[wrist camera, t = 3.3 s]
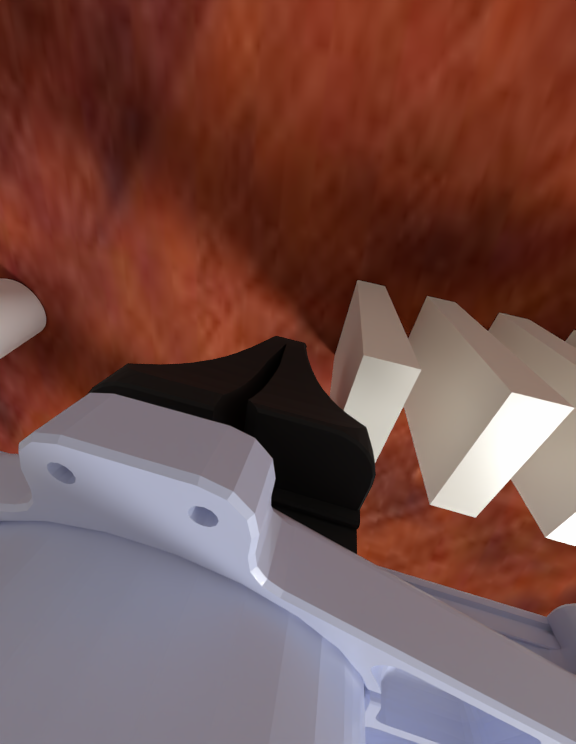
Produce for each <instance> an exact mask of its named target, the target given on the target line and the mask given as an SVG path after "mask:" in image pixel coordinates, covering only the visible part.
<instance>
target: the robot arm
mask: <svg viewBox="0 0 576 744" xmlns="http://www.w3.org/2000/svg"><path fill="white" fill-rule="evenodd" d="M306 347H307V346H306V344H305V343H303V342H299V341H295V340H291V339H287V338H283V337H279V336H274V337H272V338H270V339H268V340H266V341H264V342H262V343H260V344H258V345H255V346H253V347H251V348H248V349H246V350H243V351H241V352H238V353H235V354H232V355H229V356H225V357H221V358H217V359H213V360H207V361H200V362H194V363H183V364H161V365H158V364H129V363H128V364H127V365H125V366H124V367H122V368H121V369H119V370H118V371H116V372H115V373H113V374H112V375H110V376H109V377H107V378H106V379H105V380H103V381H102V382H100V383H99V384H97V385H96V386H94V387H93V388H92V389H91V390H90V392H89V393H88V394H87V395H86V396H85V397H83V398H82V399H80V400H79V401H78V402H76V403H75V404H73V405H72V406H70V407H69V408H67V409H66V410H65V411H63V412H62V413H60V414H59V415H57V416H56V417H54V418H53V419H52V420H50V421H49V422H47V423H46V424H44V425H43V426H42V427H40V428H39V429H37V430H36V431H34V432H33V433H32V434H30V435H29V436H28V437H26V438H25V439H24V440H22V441H21V442H20V443H19V454H9V453H6V452H2V451H0V744H576V604H565V605H562V606H559V607H557V608H556V609H554V610H553V611H552V612H551V613H550V614H549V615H548V616H547V617H545V616H541V615H538V614H535V613H532V612H528V611H525V610H522V609H518V608H515V607H512V606H509V605H505V604H502V603H499V602H495V601H492V600H489V599H486V598H482V597H479V596H476V595H472V594H469V593H466V592H463V591H459V590H456V589H453V588H449V587H446V586H443V585H440V584H436V583H433V582H430V581H426V580H423V579H420V578H417V577H413V576H410V575H407V574H403V573H400V572H397V571H394V570H390V569H387V568H384V567H380V566H377V565H375V564H373V563H371V562H370V561H368V560H366V559H364V558H362V557H360V556H359V555H357V529H358V528H359V525H360V508H361V506H362V504H363V502H364V500H365V498H366V496H367V495H368V493H369V491H370V489H371V487H372V485H373V481H374V478H375V475H376V474H375V459H374V453H373V449H372V445H371V441H370V438H369V434H368V431H367V428H366V426H364V425H363V424H361V423H360V422H358V421H357V420H356V419H354V418H353V417H351V416H350V415H348V414H347V413H346V412H345V411H343V410H342V409H341V408H340V407H339V406H338V405H337V404H336V403H335V402H334V401H333V400H332V399H331V398H330V397H329V396H328V395H327V394H326V393H325V391H324V390H323V389H322V387H321V386H320V384H319V383H318V381H317V379H316V377H315V375H314V373H313V371H312V368H311V366H310V363H309V360H308V356H307V351H306Z"/></svg>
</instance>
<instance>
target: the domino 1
mask: <svg viewBox="0 0 576 744" xmlns="http://www.w3.org/2000/svg"><path fill="white" fill-rule="evenodd" d="M420 372H421V367H420V365H419V363H418V360H417V358H416V356H415V354H414V351H413V349H412V347H411V344H410V342H409V340H408V338H407V335H406V333H405V331H404V328H403V326H402V324H401V322H400V319H399V317H398V315H397V312H396V310H395V308H394V306H393V303H392V301H391V299H390V296H389V294H388V292H387V290H386V287H385V286H382V285H378V284H373V283H369V282H365V281H360V280H357V283H356V287H355V290H354V293H353V297H352V300H351V303H350V306H349V310H348V313H347V316H346V320H345V323H344V326H343V330H342V333H341V336H340V339H339V343H338V346H337V349H336V353H335V357H334V366H333V374H332V383H331V391H330V398H331V399H332V400H333V401H334V402H335V403H336V404H337V405H338V406H339V407H340V408H341V409H342V410H343V411H345V412H346V413H347V414H348V415H350V416H351V417H353V418H354V419H356V420H357V421H358V422H360V423H361V424H363V425H364V426H366V428H367V431H368V434H369V438H370V441H371V445H372V449H373V453H374V459H375V462H376V460H377V458H378V456H379V454H380V452H381V450H382V448H383V446H384V444H385V442H386V440H387V438H388V436H389V434H390V432H391V430H392V428H393V426H394V424H395V422H396V420H397V418H398V416H399V414H400V412H401V410H402V408H403V406H404V404H405V402H406V400H407V398H408V396H409V394H410V392H411V390H412V388H413V386H414V384H415V382H416V380H417V378H418V376H419V374H420Z"/></svg>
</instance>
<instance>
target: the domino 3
mask: <svg viewBox="0 0 576 744" xmlns="http://www.w3.org/2000/svg"><path fill="white" fill-rule="evenodd" d="M488 332H489V333H491V334H492V335H493V336H494V337H495V338H496V339H497V340H499V341H500V342H501V343H502V344H503V345H504V346H505V347H506V348H508V349H509V350H510V351H511V352H512V353H513V354H514V355H515V356H517V357H518V358H519V359H520V360H521V361H522V362H523V363H525V364H526V365H527V366H528V367H529V368H530V369H531V370H532V371H534V372H535V373H536V374H537V375H538V376H539V377H540V378H541V379H543V380H544V381H545V382H546V383H547V384H548V385H549V386H550V387H552V388H553V389H554V390H555V391H556V392H557V393H558V394H560V395H561V396H562V397H563V398H564V399H565V400H566V401H567V402H569V403H570V404H571V405H572V406H573V407H574V409H573V410H572V411H571V412H570V413H569V415H568V416H567V417H566V418H565V419H564V420H563V421H562V422H561V423H560V425H559V426H558V427H557V428H556V429H555V430H554V431H553V432H552V433H551V434H550V436H549V437H548V438H547V439H546V440H545V441H544V442H543V443H542V444H541V446H540V447H539V448H538V449H537V450H536V451H535V452H534V453H533V454H532V456H531V457H530V458H529V459H528V460H527V461H526V462H525V463H524V464H523V465H522V467H521V468H520V469H519V470H518V471H517V472H516V473H515V474H514V475H513V477H512V478H511V480H512V482H513V483H514V485H515V487H516V488H517V490H518V492H519V493H520V495H521V497H522V499H523V500H524V502H525V504H526V505H527V507H528V509H529V510H530V512H531V514H532V515H533V517H534V519H535V521H536V522H537V524H538V526H539V527H540V529H541V531H542V532H543V534H544V536H545V537H546V538H549V539H553V540H556V541H559V542H563V543H566V544H570V545H573V546H576V348H575V347H573V346H571V345H570V344H568V343H566V342H565V341H563V340H562V339H560V338H558V337H557V336H555V335H553V334H552V333H550V332H549V331H547V330H545V329H544V328H542V327H540V326H539V325H537V324H536V323H534V322H532V321H531V320H529V319H525V318H521V317H517V316H512V315H508V314H503V313H499V314H498V315H497V317H496V319H495V320H494V322H493V324H492V325H491V327H490V329H489V330H488Z"/></svg>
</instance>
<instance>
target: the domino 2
mask: <svg viewBox="0 0 576 744" xmlns="http://www.w3.org/2000/svg"><path fill="white" fill-rule="evenodd" d="M408 340H409V342H410V344H411V347H412V349H413V351H414V354H415V356H416V358H417V360H418V363H419V365H420V367H421V372H420V374H419V376H418V378H417V380H416V382H415V384H414V386H413V388H412V390H411V392H410V394H409V396H408V398H407V400H406V402H405V404H404V409H405V412H406V416H407V420H408V424H409V428H410V431H411V435H412V439H413V443H414V446H415V450H416V454H417V458H418V461H419V465H420V469H421V473H422V476H423V480H424V484H425V488H426V492H427V495H428V499H429V503H430V505H433V506H437V507H440V508H444V509H447V510H451V511H454V512H458V513H461V514H465V515H468V516H472V517H475V518H476V516H477V515H478V514H479V513H480V512H481V511H482V510H483V509H484V508H485V506H486V505H487V504H488V503H489V502H490V501H491V500H492V499H493V498H494V496H495V495H496V494H497V493H498V492H499V491H500V490H501V489H502V488H503V487H504V485H505V484H506V483H507V482H508V481H509V480H510V479H511V478H512V477H513V475H514V474H515V473H516V472H517V471H518V470H519V469H520V468H521V467H522V465H523V464H524V463H525V462H526V461H527V460H528V459H529V458H530V457H531V456H532V454H533V453H534V452H535V451H536V450H537V449H538V448H539V447H540V446H541V444H542V443H543V442H544V441H545V440H546V439H547V438H548V437H549V436H550V434H551V433H552V432H553V431H554V430H555V429H556V428H557V427H558V426H559V425H560V423H561V422H562V421H563V420H564V419H565V418H566V417H567V416H568V415H569V413H570V412H571V411H572V410H573V409H574V407H573V406H572V405H571V404H570V403H569V402H567V401H566V400H565V399H564V398H563V397H562V396H561V395H560V394H558V393H557V392H556V391H555V390H554V389H553V388H552V387H550V386H549V385H548V384H547V383H546V382H545V381H544V380H543V379H541V378H540V377H539V376H538V375H537V374H536V373H535V372H534V371H532V370H531V369H530V368H529V367H528V366H527V365H526V364H525V363H523V362H522V361H521V360H520V359H519V358H518V357H517V356H515V355H514V354H513V353H512V352H511V351H510V350H509V349H508V348H506V347H505V346H504V345H503V344H502V343H501V342H500V341H499V340H497V339H496V338H495V337H494V336H493V335H492V334H491V333H489V332H488V331H487V330H486V329H485V328H484V327H483V326H482V325H480V324H479V323H478V322H477V321H476V320H475V319H474V318H473V317H471V316H470V315H469V314H468V313H467V312H466V311H465V310H464V309H462V308H461V307H460V306H459V305H458V304H457V303H456V302H451V301H447V300H443V299H438V298H434V297H430V296H427V297H426V299H425V302H424V304H423V306H422V308H421V311H420V313H419V315H418V317H417V320H416V322H415V324H414V327H413V329H412V331H411V333H410V336H409V338H408Z"/></svg>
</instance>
